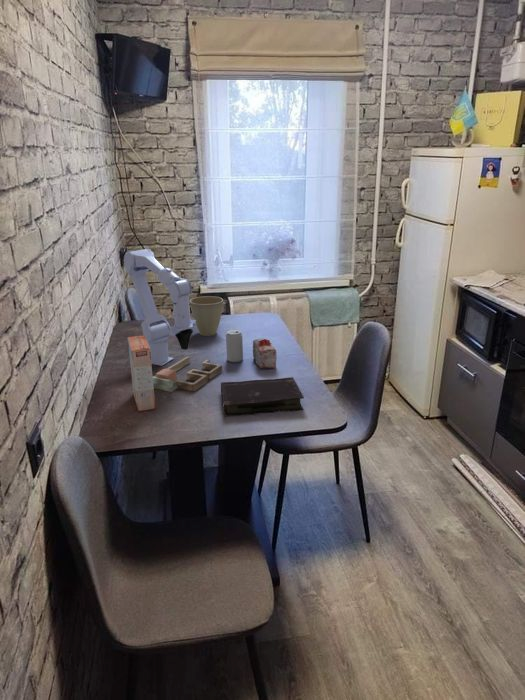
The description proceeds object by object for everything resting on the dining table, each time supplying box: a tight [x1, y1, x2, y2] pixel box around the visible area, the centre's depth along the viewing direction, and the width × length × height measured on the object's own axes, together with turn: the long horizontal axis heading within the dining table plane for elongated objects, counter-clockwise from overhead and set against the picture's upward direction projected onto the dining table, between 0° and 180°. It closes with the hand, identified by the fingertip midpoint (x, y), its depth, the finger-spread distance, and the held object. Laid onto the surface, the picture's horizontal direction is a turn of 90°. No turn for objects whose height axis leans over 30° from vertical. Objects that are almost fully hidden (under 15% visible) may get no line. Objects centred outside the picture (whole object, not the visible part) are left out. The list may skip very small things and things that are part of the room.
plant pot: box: [189, 295, 224, 337], centre depth 223 cm, size 15×15×16 cm
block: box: [155, 368, 178, 382], centre depth 172 cm, size 5×5×5 cm
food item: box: [252, 338, 277, 370], centre depth 189 cm, size 14×8×10 cm, turn 16°
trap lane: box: [153, 355, 223, 393], centre depth 178 cm, size 17×25×4 cm
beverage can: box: [225, 329, 244, 363], centre depth 192 cm, size 6×6×12 cm
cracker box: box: [127, 334, 156, 412], centre depth 158 cm, size 14×6×21 cm, turn 20°
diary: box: [220, 376, 305, 417], centre depth 160 cm, size 19×25×5 cm
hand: (184, 348), depth 180 cm, fingers closed
